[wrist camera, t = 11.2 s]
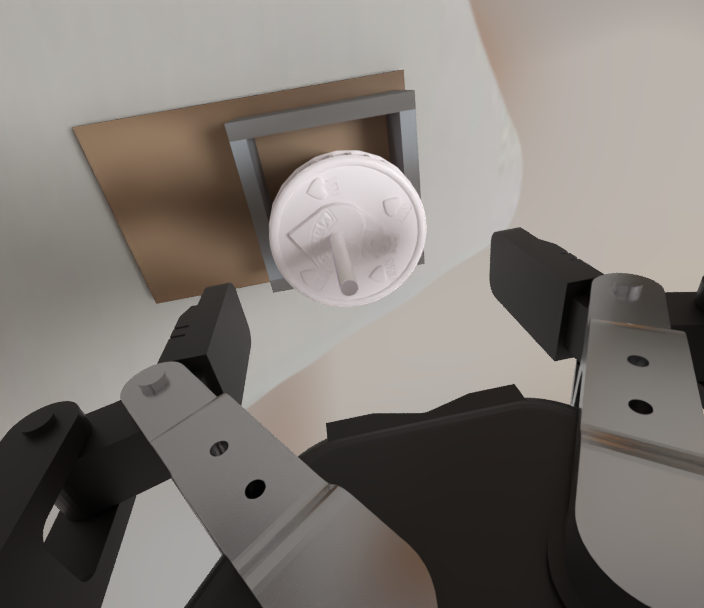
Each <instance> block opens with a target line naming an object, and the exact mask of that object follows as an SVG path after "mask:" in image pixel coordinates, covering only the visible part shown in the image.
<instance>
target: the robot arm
mask: <svg viewBox="0 0 704 608" xmlns="http://www.w3.org/2000/svg"><path fill="white" fill-rule="evenodd" d="M490 286H491V290H492V293H493V295H494V296H495V297H496V299H497V300H498V301H499V302H500V303H501V304H502V305H503V306H504V307H505V308H506V309H507V311H508V312H509V313H510V314H511V315H512V316H513V317H514V318H515V319H516V320H517V321H518V322H519V323H520V325H521V326H522V327H523V328H524V329H525V330H526V331H527V332H528V333H529V334H530V335H531V336H532V337H533V339H534V340H535V341H536V342H537V343H538V344H539V345H540V346H541V347H542V348H543V349H544V350H545V351H546V352H547V354H548V355H549V356H550V357H551V358H552V359H553V360H554V361H558V360H563V359H568V358H573V357H574V358H575V359H577V360H576V366H575V370H574V378H573V386H572V394H571V401H570V405H568V404H565V403H561V402H556V401H552V400H546V399H539V398H524V397H523V395H522V394H521V392H520V391H519V390H518V388H517V387H516V386H515V384H512V385H507V386H503V387H497V388H493V389H488V390H483V391H479V392H474V393H469V394H466V395H464V396H462V397H460V398H458V399H455V400H453V401H451V402H449V403H447V404H444V405H442V406H440V407H438V408H436V409H433V410H431V411H429V412H425V413H376V414H375V413H373V414H368V415H363V416H358V417H354V418H349V419H344V420H339V421H335V422H330V423H326V427H327V439H325V440H323V441H321V442H319V443H317V444H316V445H314V446H312V447H310V448H309V449H307V450H306V451H305V452H303V453H302V454H300V455H299V456H298V457H297V456H296V455H295V454H294V453H293V452H292V451H291V450H289V449H288V448H287V447H286V446H285V445H284V444H283V443H282V442H281V441H280V440H278V439H277V438H276V437H275V436H274V435H273V434H272V433H271V432H270V431H268V430H267V429H266V428H265V427H264V426H263V425H262V424H261V423H260V422H258V421H257V420H256V419H255V418H254V417H253V416H252V415H251V414H249V413H248V412H247V411H246V410H245V409H244V408H243V407H242V406H241V404H242V398H243V392H244V385H245V379H246V373H247V367H248V361H249V354H250V348H251V336H250V330H249V326H248V323H247V321H246V318H245V315H244V312H243V309H242V306H241V303H240V301H239V298H238V295H237V292H236V289H235V287H234V285H233V284H232V283H226V284H220V285H215V286H210V287H206V288H205V289H204V292H203V294H202V296H201V299H200V301H199V303H198V305H196V306H191V307H190V308H189V309H188V310H187V311H186V312H185V313H184V314H182V315H181V316H180V317H179V319H178V321H177V324H176V326H175V330H173V332H172V334H171V336H170V339H169V340H168V342H167V344H166V346H165V349H164V351H163V353H162V355H161V357H160V359H159V361H158V363H157V364H156V365H153V366H151V367H148V368H146V369H144V370H142V371H141V372H139V373H138V374H136V375H135V376H134V377H132V378H131V379H130V380H129V381H128V382H127V383H126V384H125V386H124V387H123V389H122V391H121V394H120V398H121V400H120V401H117V402H115V403H113V404H110V405H108V406H105V407H103V408H100V409H98V410H95V411H93V412H90V413H88V414H84V413H83V412H82V410H81V409H80V408H79V406H78V405H77V404H76V403H74V402H71V401H62V402H57V403H53V404H50V405H47V406H45V407H43V408H40V409H38V410H36V411H34V412H33V413H31V414H29V415H28V416H26V417H25V418H23V419H22V420H20V421H19V422H18V423H17V424H16V425H14V426H13V427H12V428H11V429H10V430H9V431H8V432H7V434H6V435H5V436H4V437H3V439H2V440H1V441H0V608H101V606H102V603H103V599H104V596H105V593H106V590H107V586H108V584H109V581H110V577H111V574H112V571H113V568H114V565H115V562H116V558H117V555H118V552H119V549H120V546H121V542H122V539H123V536H124V533H125V530H126V527H127V524H128V520H129V517H130V514H131V511H132V508H133V505H134V502H135V498H136V495H137V494H140V493H142V492H144V491H146V490H148V489H150V488H152V487H154V486H156V485H158V484H160V483H162V482H164V481H166V480H168V479H170V478H171V479H172V480H173V482H174V483H175V485H176V486H177V488H178V489H179V491H180V492H181V494H182V496H183V497H184V499H185V500H186V501H187V503H188V504H189V506H190V508H191V509H192V511H193V512H194V514H195V515H196V517H197V518H198V519H199V521H200V523H201V524H202V526H203V527H204V528H205V530H206V532H207V533H208V535H209V536H210V538H211V539H212V541H213V542H214V544H215V545H216V547H217V548H218V550H219V552H220V553H221V555H222V556H221V557H220V559H219V560H218V562H217V563H216V564H215V566H214V567H213V568H212V570H211V571H210V573H209V574H208V575H207V577H206V578H205V580H204V581H203V582H202V584H201V585H200V586H199V588H198V589H197V591H196V592H195V594H194V595H193V596H192V598H191V599H190V600H189V602H188V603H187V605H186V606H185V607H184V608H704V414H703V409H704V276H703V277H702V280H701V283H700V286H699V288H698V291H697V292H665V291H664V288H663V287H662V286H661V285H660V284H659V283H657V282H655V281H654V280H651V279H649V278H646V277H643V276H639V275H634V274H627V273H612V274H605V275H604V274H603V273H601V272H600V271H598V270H596V269H595V268H593V267H592V266H590V265H588V264H587V263H585V262H583V261H582V260H580V259H577V257H575V256H574V255H572V254H571V253H568V252H567V251H566V250H564V249H563V248H561V247H560V246H558V245H556V244H554V243H550V242H547V241H543V240H540V239H538V238H536V237H535V236H533V235H532V234H530V233H529V232H527V231H525V230H524V229H522V228H520V227H519V228H513V229H508V230H503V231H497V232H494V233H493V235H492V238H491V255H490ZM702 408H703V409H702ZM54 504H55V506H57V508H58V509H59V510H60V511H59V513H58V516H57V518H56V520H55V522H54V524H53V526H52V528H51V530H50V532H49V534H48V536H47V538H46V540H45V542H43V529H44V525H45V521H46V519H47V517H48V515H49V513H50V511H51V509H52V507H53V505H54Z"/></svg>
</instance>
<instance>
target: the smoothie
mask: <svg viewBox="0 0 704 608" xmlns="http://www.w3.org/2000/svg"><path fill="white" fill-rule="evenodd" d="M425 239H426V216H425V212H424V208H423V205H422V202H421V199H420V197H419V195H418V193H417V192H416V190H415V188H414V187H413V186H412V184H411V182H410V181H409V180H408V179H407V178H406V176H405V175H404V174H403V173H402V172H401V171H400V170H399V169H398V167H396V166H394V165H393V164H391V163H390V162H388V161H387V160H385V159H383V158H382V157H380V156H377V155H374V154H370V153H367V152H363V151H359V150H340V151H333V152H330V153H326V154H322V155H319V156H317V157H314V158H313V159H311V160H309V161H308V162H306V163H305V164H303V165H302V166H300V167H298V168H297V169H296V170H295V171H294V172H293V173H292V174H291V175H290V177H289V178H288V179H287V180H286V181H285V182H284V183H283V184H282V186H281V188H280V190H279V192H278V194H277V196H276V198H275V200H274V202H273V204H272V210H271V215H270V221H269V240H270V247H271V252H272V255H273V258H274V261H275V263H276V265H277V268H278V269H279V271H280V273H281V274H282V276H283V277H284V278H285V280H286V281H287V282H288V283H289V284H290V285H291V286H292V287H293V288H294V289H295V290H297V291H298V292H299V293H301V294H302V295H304V296H305V297H307V298H309V299H311V300H313V301H316V302H318V303H322V304H325V305H330V306H337V307H353V306H360V305H364V304H368V303H371V302H374V301H377V300H379V299H381V298H383V297H385V296H387V295H388V294H390V293H391V292H393V291H394V290H395V289H397V288H398V287H399V286H400V285H401V284H402V283H403V282H404V281H405V280H406V279H407V278H408V277H409V276H410V274H411V273H412V272H413V270H414V269H415V267H416V265H417V263H418V261H419V259H420V257H421V254H422V252H423V248H424V245H425Z"/></svg>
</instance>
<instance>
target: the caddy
mask: <svg viewBox="0 0 704 608" xmlns="http://www.w3.org/2000/svg"><path fill="white" fill-rule="evenodd" d="M72 128H73V130H74V132H75V134H76V136H77V138H78V140H79V142H80V144H81V147H82V149H83V151H84V153H85V155H86V157H87V159H88V161H89V163H90V165H91V168H92V170H93V172H94V174H95V176H96V178H97V180H98V182H99V184H100V186H101V188H102V191H103V193H104V195H105V197H106V199H107V201H108V203H109V205H110V207H111V209H112V212H113V214H114V216H115V218H116V220H117V222H118V224H119V226H120V228H121V230H122V233H123V235H124V237H125V239H126V241H127V243H128V245H129V247H130V249H131V251H132V253H133V256H134V258H135V260H136V262H137V264H138V266H139V268H140V270H141V272H142V274H143V277H144V279H145V281H146V283H147V285H148V287H149V289H150V291H151V293H152V295H153V297H154V300H155V302H156V304H157V303H162V302H168V301H173V300H178V299H183V298H189V297H194V296H199V295H202V294H203V292H204V289H205V288H206V287H210V286H215V285H220V284H226V283H232V284H233V285H234V287H235V289H236V288H241V287H246V286H251V285H257V284H262V283H267V282H270V283H271V286H272V290H273V293H274V292H279V291H285V290H290V289H294V288H293V287H292V286H291V285H290V284H289V283H288V282H287V281H286V280H285V278H284V277H283V276H282V274H281V273H280V271H279V269H278V268H277V265H276V263H275V261H274V258H273V255H272V252H271V247H270V240H269V221H270V215H271V210H272V204H273V202H274V200H275V198H276V196H277V194H278V192H279V190H280V188H281V186H282V184H283V183H284V182H285V181H286V180H287V179H288V178H289V177H290V175H291V174H292V173H293V172H294V171H295V170H296V169H297V168H298V167H300V166H302V165H303V164H305V163H306V162H308V161H309V160H311V159H313V158H314V157H317V156H319V155H322V154H326V153H330V152H333V151H340V150H359V151H363V152H367V153H370V154H374V155H377V156H380V157H382V158H383V159H385V160H387V161H388V162H390V163H391V164H393V165H394V166H396V167H398V169H399V170H400V171H401V172H402V173H403V174H404V175H405V176H406V178H407V179H408V180H409V181H410V182H411V184H412V186H413V187H414V188H415V190H416V192H417V193H418V195H419V197H420V199H421V194H420V177H419V159H418V142H417V124H416V107H415V90H405V84H404V70H399V71H393V72H387V73H382V74H376V75H370V76H364V77H359V78H353V79H347V80H341V81H336V82H330V83H324V84H318V85H313V86H307V87H301V88H295V89H290V90H284V91H278V92H272V93H267V94H261V95H255V96H249V97H244V98H238V99H232V100H226V101H221V102H215V103H209V104H203V105H198V106H192V107H186V108H180V109H175V110H169V111H163V112H157V113H152V114H146V115H140V116H134V117H129V118H123V119H117V120H111V121H106V122H100V123H94V124H88V125H83V126H77V127H72ZM420 264H424V248H423V252H422V254H421V257H420V259H419V261H418V263H417V265H420Z"/></svg>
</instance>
